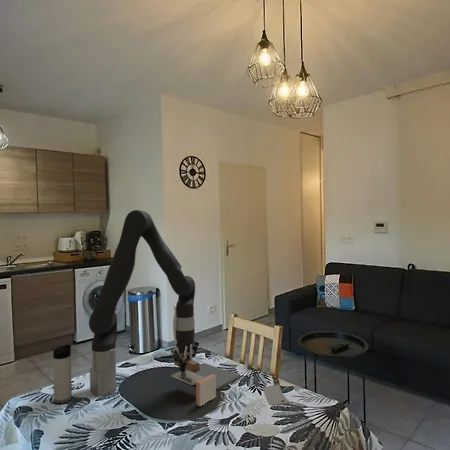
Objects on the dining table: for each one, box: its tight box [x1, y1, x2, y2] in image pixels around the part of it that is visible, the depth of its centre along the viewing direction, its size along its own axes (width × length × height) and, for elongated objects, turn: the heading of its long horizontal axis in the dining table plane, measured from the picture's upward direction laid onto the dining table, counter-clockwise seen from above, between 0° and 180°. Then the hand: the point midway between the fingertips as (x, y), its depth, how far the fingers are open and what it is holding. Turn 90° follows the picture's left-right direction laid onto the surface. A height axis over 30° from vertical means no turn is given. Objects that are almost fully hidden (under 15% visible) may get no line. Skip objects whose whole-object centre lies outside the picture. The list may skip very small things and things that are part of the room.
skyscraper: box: [172, 302, 177, 348], centre depth 185 cm, size 8×8×28 cm
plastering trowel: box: [171, 357, 205, 386], centre depth 144 cm, size 13×7×7 cm, turn 49°
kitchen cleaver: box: [262, 374, 290, 406], centre depth 146 cm, size 24×1×10 cm
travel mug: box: [52, 344, 73, 404], centre depth 140 cm, size 6×7×20 cm
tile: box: [195, 374, 217, 407], centre depth 137 cm, size 9×2×9 cm, turn 139°
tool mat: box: [187, 362, 241, 390], centre depth 158 cm, size 18×22×1 cm
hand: (185, 370), depth 145 cm, fingers closed on plastering trowel, 2 cm apart
